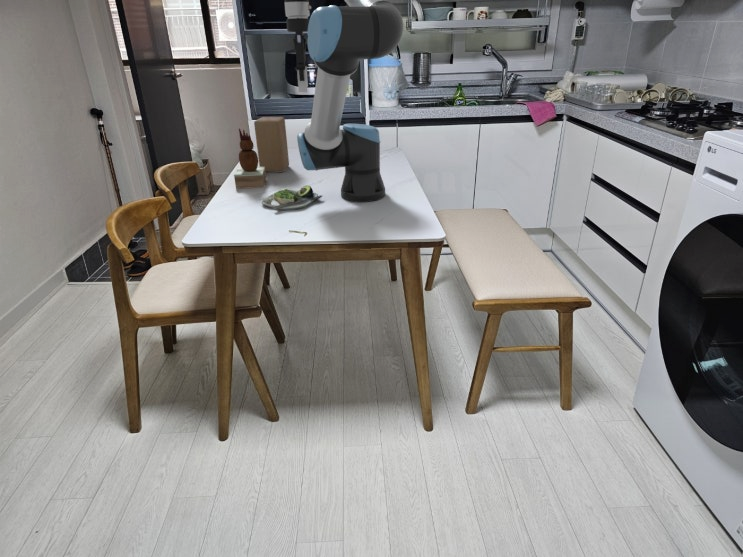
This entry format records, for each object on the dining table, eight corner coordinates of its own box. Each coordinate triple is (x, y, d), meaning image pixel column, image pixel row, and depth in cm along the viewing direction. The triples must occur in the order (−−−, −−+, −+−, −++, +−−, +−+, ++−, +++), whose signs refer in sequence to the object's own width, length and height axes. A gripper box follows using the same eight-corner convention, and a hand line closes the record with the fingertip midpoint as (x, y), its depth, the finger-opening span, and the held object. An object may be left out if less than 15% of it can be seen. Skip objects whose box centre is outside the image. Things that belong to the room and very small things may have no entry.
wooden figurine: (237, 171, 177) (231, 129, 170) (248, 167, 181) (242, 126, 174) (252, 173, 174) (246, 130, 167) (262, 169, 178) (257, 127, 171)
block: (289, 166, 202) (285, 116, 193) (283, 172, 193) (278, 120, 184) (266, 166, 203) (260, 116, 194) (259, 172, 194) (252, 120, 185)
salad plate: (296, 217, 148) (295, 202, 146) (249, 210, 155) (247, 196, 153) (327, 198, 164) (326, 185, 162) (283, 193, 171) (281, 180, 168)
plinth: (263, 187, 176) (262, 173, 174) (236, 188, 175) (233, 174, 173) (266, 179, 185) (265, 166, 182) (240, 180, 184) (238, 167, 182)
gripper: (309, 16, 143) (314, 93, 152) (310, 18, 165) (315, 85, 174) (283, 17, 142) (290, 94, 152) (288, 18, 164) (294, 85, 174)
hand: (303, 89), depth 163 cm, fingers open, 13 cm apart
